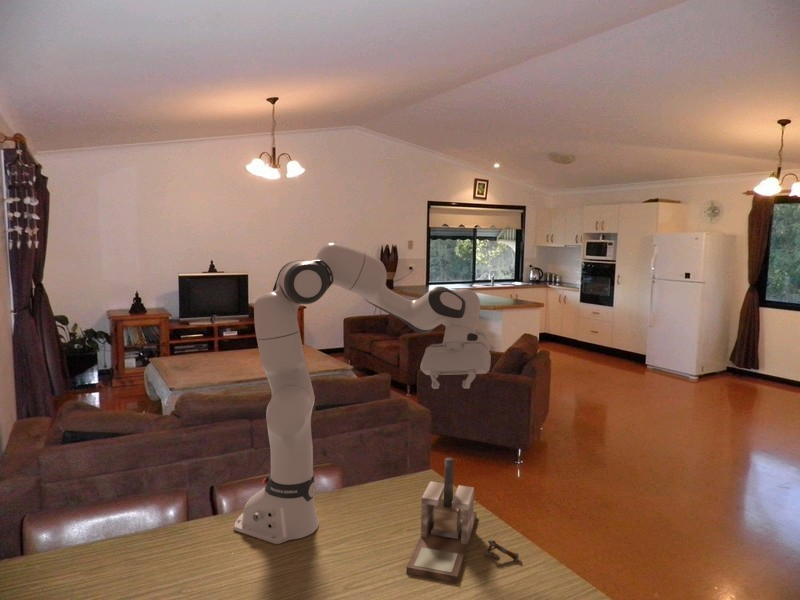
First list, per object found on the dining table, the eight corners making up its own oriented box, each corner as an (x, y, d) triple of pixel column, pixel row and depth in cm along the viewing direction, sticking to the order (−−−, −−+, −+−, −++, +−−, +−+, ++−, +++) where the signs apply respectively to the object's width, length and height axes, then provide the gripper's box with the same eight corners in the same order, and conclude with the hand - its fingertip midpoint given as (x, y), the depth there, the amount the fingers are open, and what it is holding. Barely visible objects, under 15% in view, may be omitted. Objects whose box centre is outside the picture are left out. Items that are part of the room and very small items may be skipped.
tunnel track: (406, 573, 130) (407, 524, 129) (434, 510, 160) (435, 471, 159) (457, 582, 127) (458, 533, 126) (476, 517, 157) (477, 476, 155)
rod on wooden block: (431, 534, 144) (432, 463, 142) (437, 519, 152) (439, 452, 149) (457, 539, 142) (460, 467, 140) (463, 523, 150) (465, 455, 147)
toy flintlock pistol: (481, 550, 139) (489, 536, 138) (510, 566, 138) (519, 551, 137) (481, 555, 137) (489, 540, 136) (511, 570, 136) (519, 556, 135)
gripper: (421, 339, 161) (411, 383, 154) (486, 335, 149) (479, 382, 143) (432, 349, 165) (422, 392, 158) (496, 345, 154) (488, 392, 147)
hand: (450, 387), depth 150 cm, fingers open, 8 cm apart
